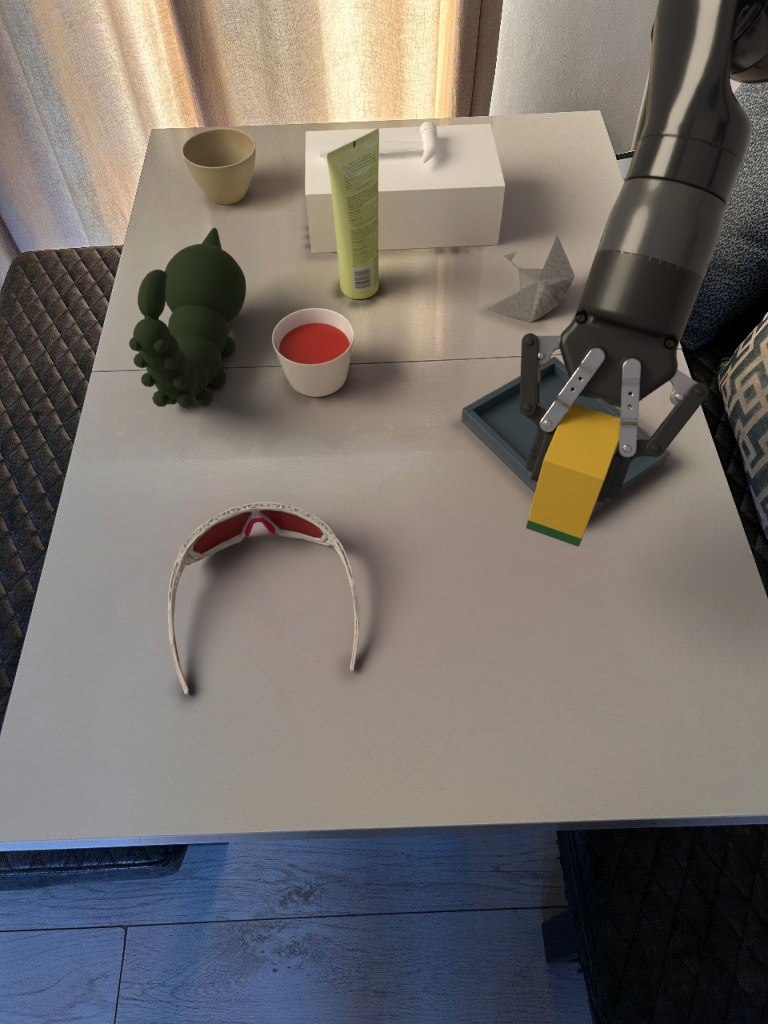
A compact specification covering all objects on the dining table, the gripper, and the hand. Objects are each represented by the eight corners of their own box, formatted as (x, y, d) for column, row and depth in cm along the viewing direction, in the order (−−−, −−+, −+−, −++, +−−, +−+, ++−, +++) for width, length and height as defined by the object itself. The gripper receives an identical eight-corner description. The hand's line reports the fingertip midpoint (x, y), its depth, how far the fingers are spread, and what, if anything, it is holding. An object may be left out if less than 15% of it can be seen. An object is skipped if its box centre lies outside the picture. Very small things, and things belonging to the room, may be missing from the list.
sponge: (599, 490, 63) (626, 419, 56) (578, 547, 60) (604, 479, 53) (548, 473, 65) (568, 401, 57) (525, 528, 61) (543, 459, 54)
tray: (664, 465, 81) (670, 453, 80) (570, 528, 77) (574, 516, 75) (551, 369, 89) (554, 356, 88) (460, 421, 85) (462, 408, 83)
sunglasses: (345, 512, 78) (343, 491, 73) (367, 676, 71) (366, 664, 67) (174, 533, 77) (161, 513, 72) (180, 703, 70) (166, 692, 65)
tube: (343, 271, 100) (333, 124, 84) (382, 273, 100) (379, 126, 83) (337, 300, 97) (326, 153, 81) (377, 302, 96) (374, 155, 80)
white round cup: (316, 417, 86) (311, 377, 80) (263, 377, 89) (255, 336, 84) (372, 375, 89) (370, 334, 84) (319, 338, 93) (314, 296, 88)
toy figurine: (227, 443, 86) (264, 282, 98) (185, 326, 69) (236, 149, 81) (146, 438, 86) (192, 278, 99) (85, 320, 70) (150, 145, 82)
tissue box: (497, 244, 103) (507, 168, 93) (311, 253, 102) (303, 177, 93) (484, 182, 111) (492, 106, 102) (311, 189, 110) (304, 114, 101)
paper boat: (521, 335, 91) (466, 284, 93) (524, 347, 97) (473, 299, 99) (595, 258, 89) (538, 208, 91) (593, 275, 95) (540, 228, 97)
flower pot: (258, 215, 107) (250, 167, 101) (187, 215, 107) (175, 167, 101) (266, 174, 112) (259, 126, 107) (199, 174, 113) (188, 126, 107)
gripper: (546, 225, 52) (468, 465, 55) (764, 280, 48) (665, 532, 52) (556, 246, 59) (486, 457, 63) (746, 295, 55) (660, 516, 59)
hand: (568, 490), depth 57 cm, fingers closed on sponge, 4 cm apart
